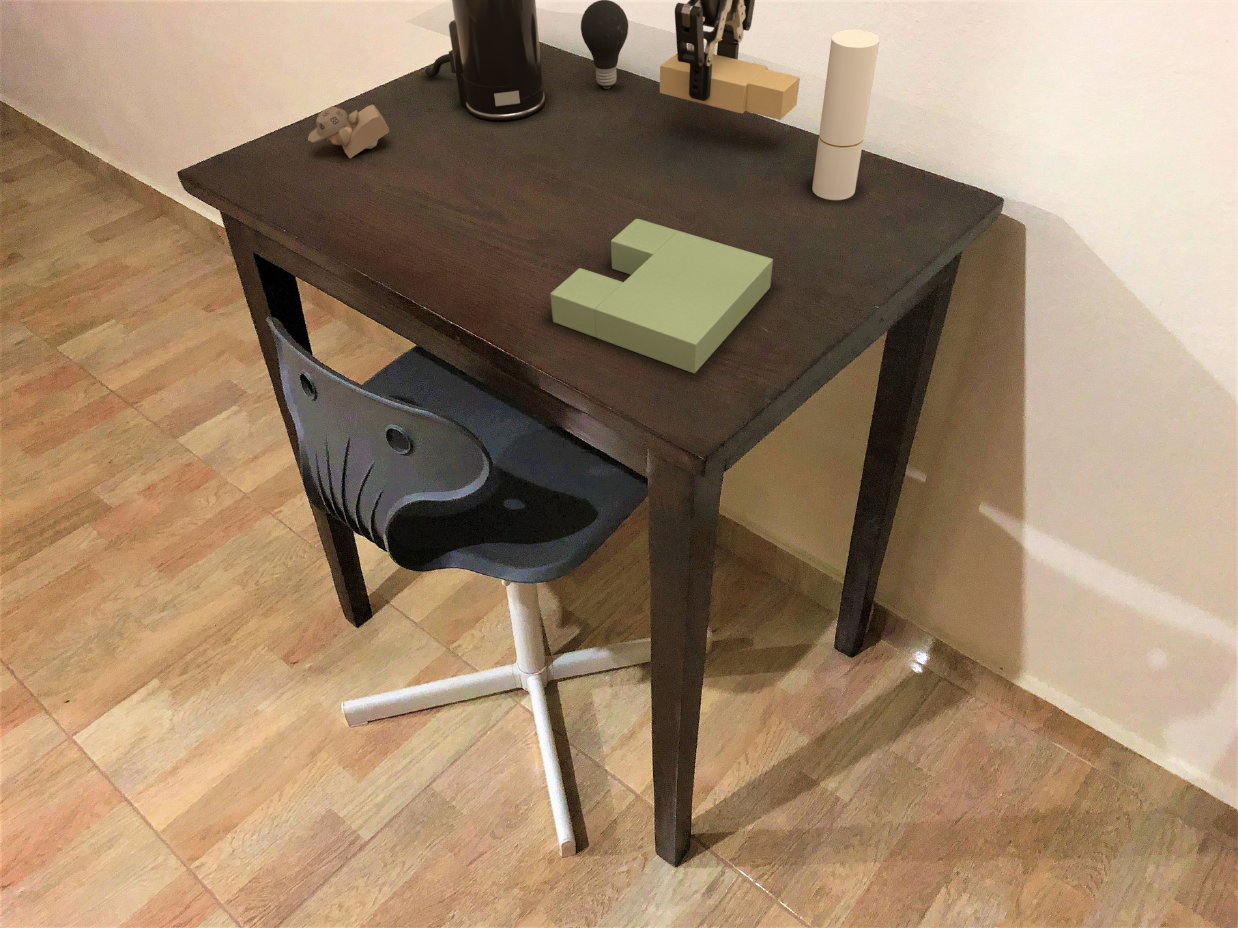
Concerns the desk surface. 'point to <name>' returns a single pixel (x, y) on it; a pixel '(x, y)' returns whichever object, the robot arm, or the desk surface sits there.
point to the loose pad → (735, 86)
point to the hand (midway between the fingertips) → (712, 87)
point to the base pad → (665, 294)
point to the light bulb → (604, 37)
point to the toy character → (350, 129)
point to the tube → (844, 112)
